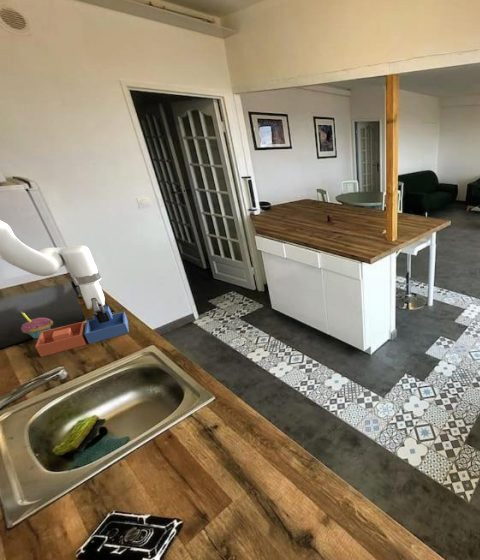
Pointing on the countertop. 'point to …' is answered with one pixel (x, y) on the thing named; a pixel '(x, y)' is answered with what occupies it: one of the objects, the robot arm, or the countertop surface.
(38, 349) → the terracotta bin
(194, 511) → the countertop surface
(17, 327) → the countertop surface
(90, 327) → the blue bin
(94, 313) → the blue block
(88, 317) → the condiment
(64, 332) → the terracotta block
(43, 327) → the cupcake
